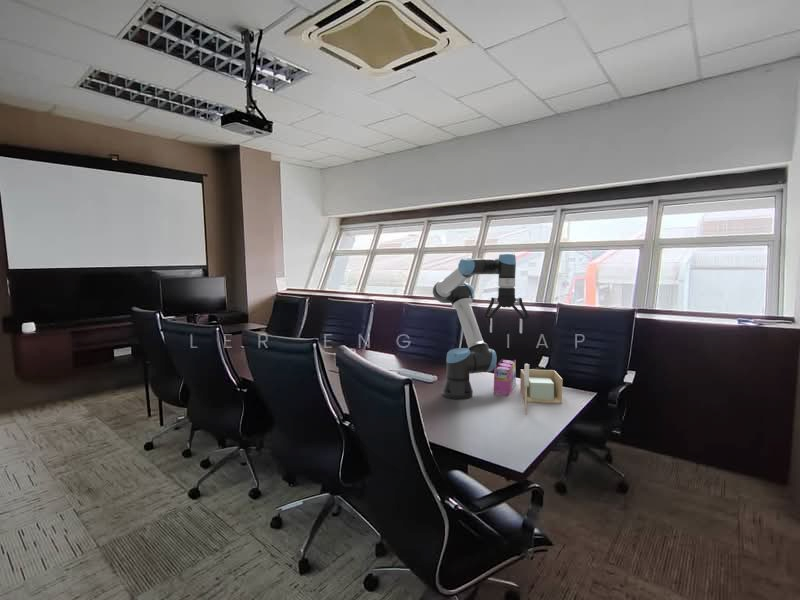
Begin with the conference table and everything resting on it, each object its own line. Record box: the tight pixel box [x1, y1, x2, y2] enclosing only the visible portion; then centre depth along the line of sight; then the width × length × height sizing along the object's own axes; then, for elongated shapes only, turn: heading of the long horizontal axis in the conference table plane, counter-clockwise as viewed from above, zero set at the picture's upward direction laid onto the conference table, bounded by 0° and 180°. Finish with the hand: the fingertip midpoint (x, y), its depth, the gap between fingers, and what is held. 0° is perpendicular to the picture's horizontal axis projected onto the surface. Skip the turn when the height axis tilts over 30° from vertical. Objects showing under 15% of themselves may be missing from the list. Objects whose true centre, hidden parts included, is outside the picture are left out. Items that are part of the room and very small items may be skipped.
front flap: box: [524, 363, 530, 415], centre depth 182 cm, size 17×2×22 cm, turn 163°
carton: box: [519, 368, 564, 404], centre depth 198 cm, size 17×17×12 cm
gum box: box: [493, 358, 517, 396], centre depth 213 cm, size 24×8×14 cm, turn 155°
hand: (505, 332), depth 185 cm, fingers open, 13 cm apart
